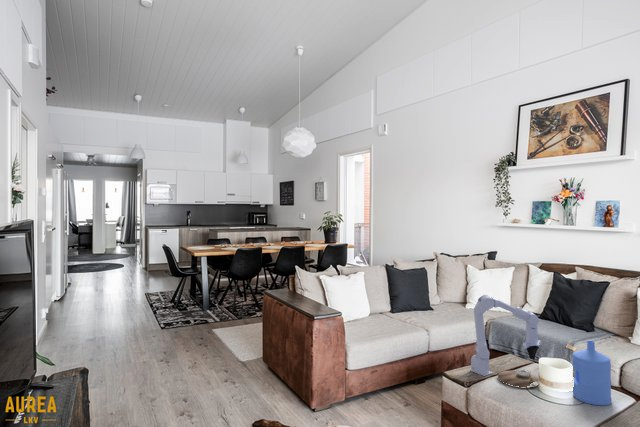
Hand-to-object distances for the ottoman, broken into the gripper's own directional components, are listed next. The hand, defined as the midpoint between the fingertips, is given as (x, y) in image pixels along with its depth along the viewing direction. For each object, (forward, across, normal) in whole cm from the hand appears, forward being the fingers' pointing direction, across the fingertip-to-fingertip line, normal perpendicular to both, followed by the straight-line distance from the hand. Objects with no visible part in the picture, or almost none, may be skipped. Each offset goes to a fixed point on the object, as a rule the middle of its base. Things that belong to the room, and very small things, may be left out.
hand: (532, 358), depth 227 cm
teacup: (+10, +8, -14) cm, 19 cm away
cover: (+8, -8, 0) cm, 11 cm away
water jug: (+10, -4, -32) cm, 34 cm away
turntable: (+9, -14, 0) cm, 16 cm away
